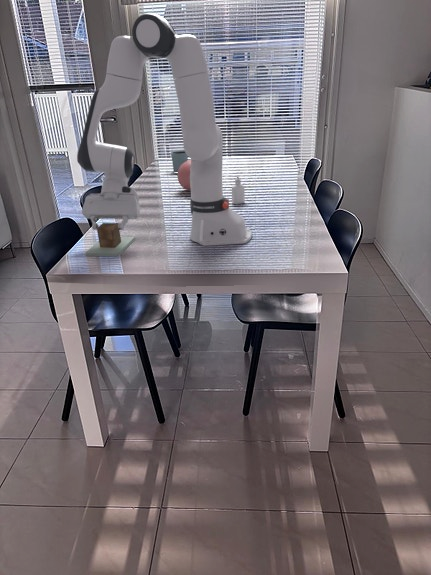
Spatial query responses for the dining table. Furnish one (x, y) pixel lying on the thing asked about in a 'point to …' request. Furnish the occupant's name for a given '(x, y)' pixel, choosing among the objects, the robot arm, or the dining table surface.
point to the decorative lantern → (185, 175)
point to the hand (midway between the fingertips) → (107, 229)
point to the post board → (103, 251)
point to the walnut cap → (109, 235)
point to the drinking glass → (178, 159)
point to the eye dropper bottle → (238, 192)
